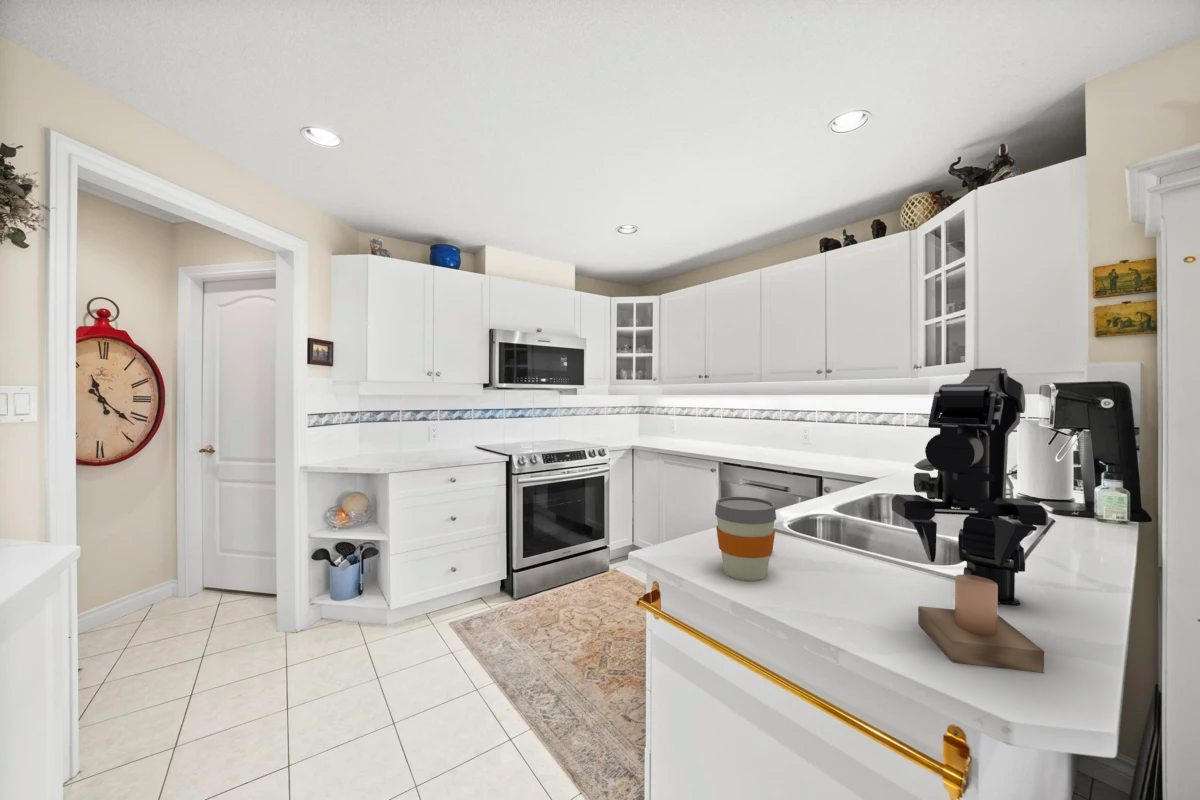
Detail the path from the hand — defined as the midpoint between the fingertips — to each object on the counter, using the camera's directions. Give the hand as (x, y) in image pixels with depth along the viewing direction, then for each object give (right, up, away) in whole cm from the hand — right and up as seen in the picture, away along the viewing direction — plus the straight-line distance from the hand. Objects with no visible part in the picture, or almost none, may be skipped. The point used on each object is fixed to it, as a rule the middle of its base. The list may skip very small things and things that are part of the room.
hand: (964, 563), depth 72 cm
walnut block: (0, -12, -2) cm, 12 cm away
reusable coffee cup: (-26, -12, +27) cm, 39 cm away
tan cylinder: (0, -9, -2) cm, 9 cm away
